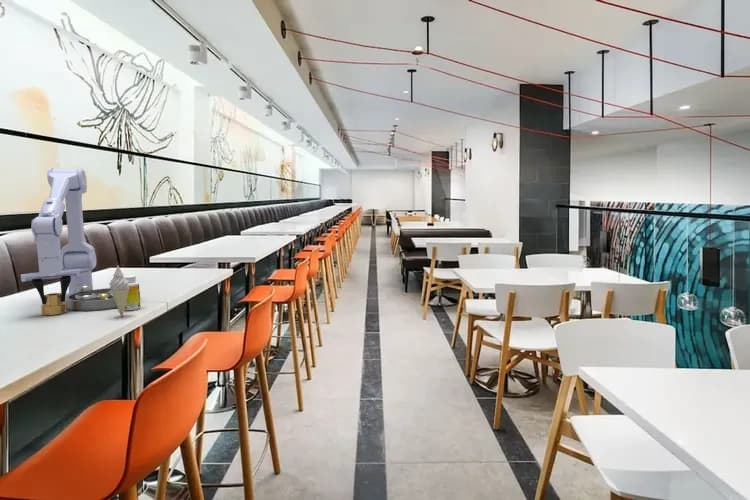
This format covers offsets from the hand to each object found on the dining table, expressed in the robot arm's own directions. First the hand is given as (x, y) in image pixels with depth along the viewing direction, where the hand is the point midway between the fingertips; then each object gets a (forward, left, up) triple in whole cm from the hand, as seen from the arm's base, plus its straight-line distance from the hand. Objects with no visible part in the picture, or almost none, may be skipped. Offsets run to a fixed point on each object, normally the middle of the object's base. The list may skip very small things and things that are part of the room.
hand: (53, 302), depth 147 cm
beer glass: (+9, +19, -3) cm, 21 cm away
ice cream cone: (+17, +15, -3) cm, 23 cm away
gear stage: (-5, +14, -3) cm, 15 cm away
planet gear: (0, 0, -3) cm, 3 cm away
